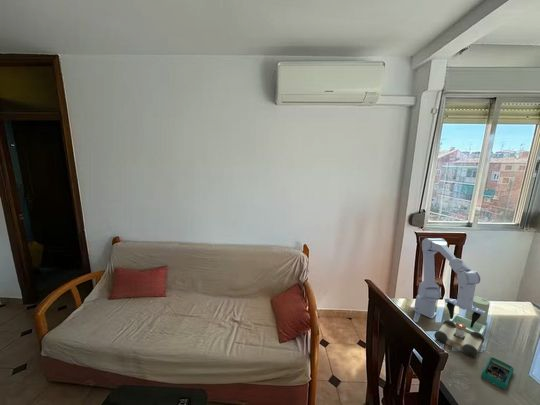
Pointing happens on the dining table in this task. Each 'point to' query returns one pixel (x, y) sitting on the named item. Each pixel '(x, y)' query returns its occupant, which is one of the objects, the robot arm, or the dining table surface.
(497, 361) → the digital multimeter
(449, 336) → the trolley
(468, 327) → the tray
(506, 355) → the dining table surface
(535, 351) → the dining table surface
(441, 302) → the dining table surface
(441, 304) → the dining table surface
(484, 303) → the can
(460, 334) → the stop pin
